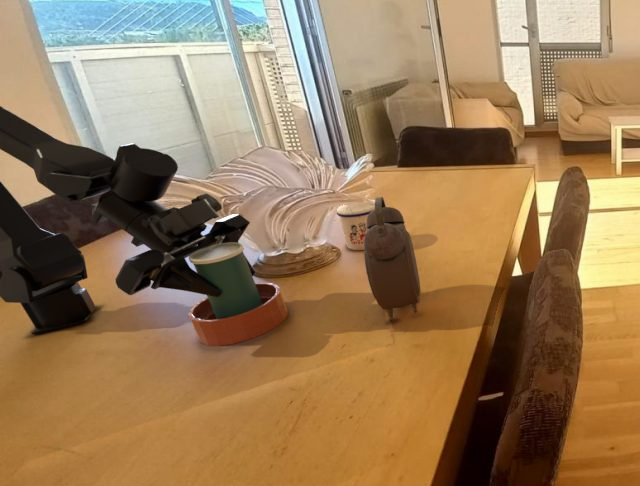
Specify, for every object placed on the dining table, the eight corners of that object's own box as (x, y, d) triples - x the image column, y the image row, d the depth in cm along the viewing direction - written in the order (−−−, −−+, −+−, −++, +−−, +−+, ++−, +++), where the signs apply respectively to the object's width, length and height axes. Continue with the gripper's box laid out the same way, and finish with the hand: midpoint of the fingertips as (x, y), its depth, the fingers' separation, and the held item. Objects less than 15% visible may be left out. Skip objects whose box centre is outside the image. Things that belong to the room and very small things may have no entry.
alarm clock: (380, 292, 88) (354, 191, 81) (421, 284, 91) (400, 185, 83) (377, 334, 76) (345, 219, 68) (425, 323, 79) (400, 211, 71)
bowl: (194, 358, 72) (181, 330, 70) (206, 321, 81) (195, 296, 79) (288, 331, 78) (278, 305, 76) (288, 300, 87) (280, 276, 85)
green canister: (214, 332, 74) (184, 264, 70) (219, 313, 80) (192, 249, 75) (265, 319, 78) (240, 253, 73) (267, 301, 83) (244, 239, 78)
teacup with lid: (349, 255, 104) (335, 205, 100) (343, 241, 111) (330, 194, 107) (406, 240, 111) (395, 193, 106) (397, 229, 117) (387, 184, 113)
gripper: (95, 206, 61) (204, 282, 65) (220, 167, 79) (301, 229, 82) (71, 259, 65) (175, 329, 69) (194, 211, 82) (273, 269, 86)
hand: (237, 284), depth 76 cm, fingers closed on green canister, 6 cm apart
